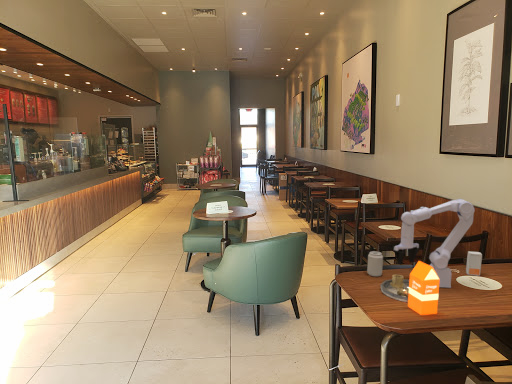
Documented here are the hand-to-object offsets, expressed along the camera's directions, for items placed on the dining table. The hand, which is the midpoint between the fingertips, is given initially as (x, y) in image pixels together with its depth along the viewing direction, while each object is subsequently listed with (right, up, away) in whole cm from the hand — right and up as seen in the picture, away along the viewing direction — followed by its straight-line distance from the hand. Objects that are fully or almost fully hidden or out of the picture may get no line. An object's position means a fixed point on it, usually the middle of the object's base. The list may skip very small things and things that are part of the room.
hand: (405, 263), depth 188 cm
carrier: (-4, -11, -12) cm, 17 cm away
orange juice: (-5, -14, -30) cm, 34 cm away
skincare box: (+42, -9, +14) cm, 45 cm away
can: (-12, -9, +11) cm, 19 cm away
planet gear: (-6, -10, -6) cm, 13 cm away
